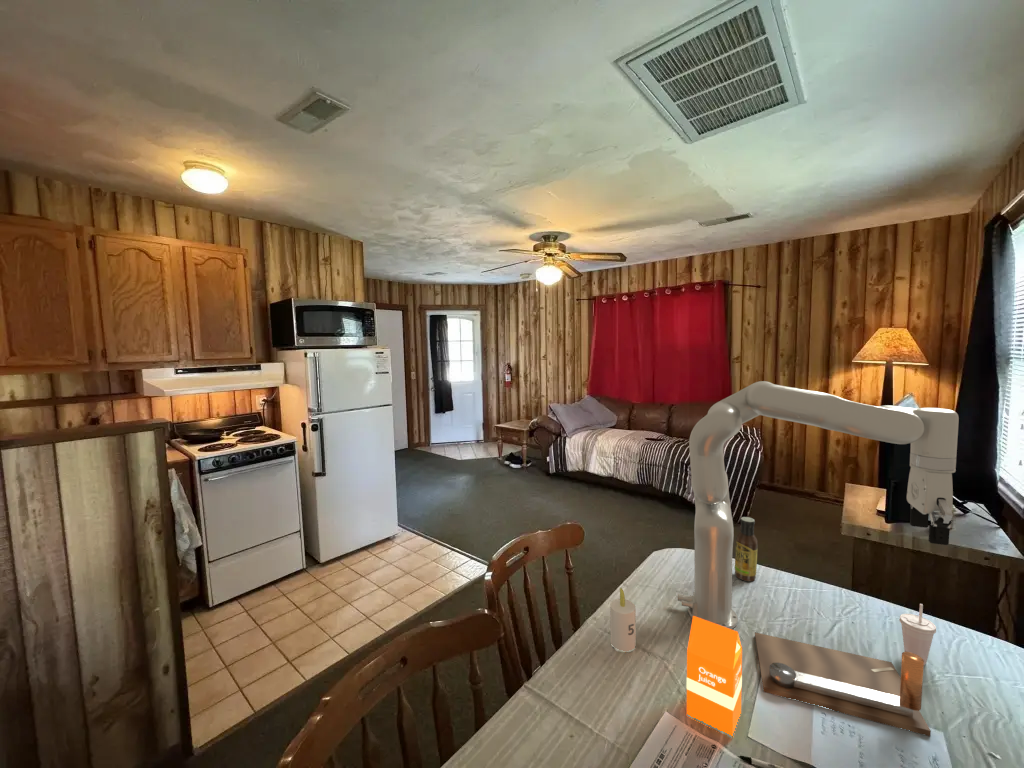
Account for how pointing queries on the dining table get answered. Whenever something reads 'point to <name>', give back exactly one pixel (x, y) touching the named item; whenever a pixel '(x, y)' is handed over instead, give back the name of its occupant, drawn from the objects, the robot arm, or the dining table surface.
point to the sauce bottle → (746, 551)
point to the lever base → (835, 679)
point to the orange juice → (714, 675)
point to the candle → (623, 623)
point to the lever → (901, 705)
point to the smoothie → (917, 634)
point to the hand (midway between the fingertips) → (928, 534)
